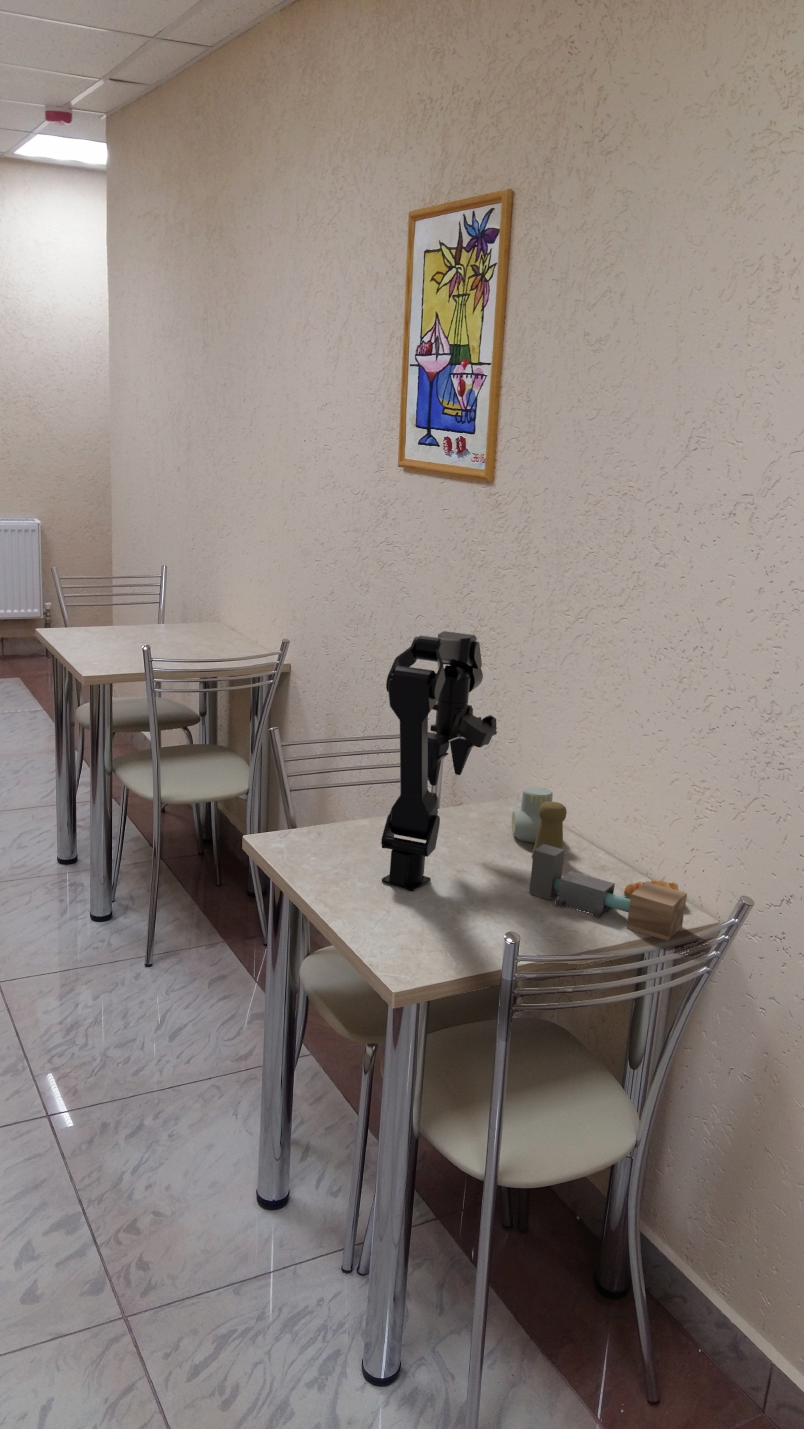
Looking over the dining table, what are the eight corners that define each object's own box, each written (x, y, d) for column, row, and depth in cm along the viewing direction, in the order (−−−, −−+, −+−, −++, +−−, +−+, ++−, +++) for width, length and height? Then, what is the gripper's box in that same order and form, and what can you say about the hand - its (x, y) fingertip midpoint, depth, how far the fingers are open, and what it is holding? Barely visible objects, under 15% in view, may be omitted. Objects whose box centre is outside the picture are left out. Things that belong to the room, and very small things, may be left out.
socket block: (667, 940, 177) (672, 906, 176) (626, 928, 181) (631, 894, 180) (682, 926, 183) (687, 893, 182) (641, 914, 187) (646, 881, 185)
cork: (553, 867, 205) (559, 811, 202) (525, 858, 208) (531, 802, 206) (569, 859, 210) (575, 804, 207) (541, 850, 213) (547, 796, 211)
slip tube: (658, 932, 180) (665, 887, 178) (529, 893, 192) (533, 850, 190) (667, 924, 183) (673, 879, 181) (539, 886, 195) (543, 843, 193)
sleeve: (598, 918, 184) (602, 893, 183) (555, 905, 188) (558, 880, 187) (613, 906, 189) (616, 881, 188) (570, 894, 193) (573, 869, 192)
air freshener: (556, 850, 214) (562, 801, 212) (514, 847, 214) (519, 797, 212) (550, 830, 225) (555, 783, 222) (509, 827, 225) (514, 780, 222)
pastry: (624, 906, 190) (627, 885, 190) (621, 891, 197) (624, 871, 196) (680, 912, 190) (683, 891, 189) (674, 896, 196) (677, 876, 195)
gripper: (465, 716, 193) (458, 801, 197) (514, 699, 209) (506, 778, 212) (412, 704, 199) (405, 787, 203) (463, 689, 214) (456, 766, 218)
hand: (445, 779), depth 209 cm, fingers open, 9 cm apart
